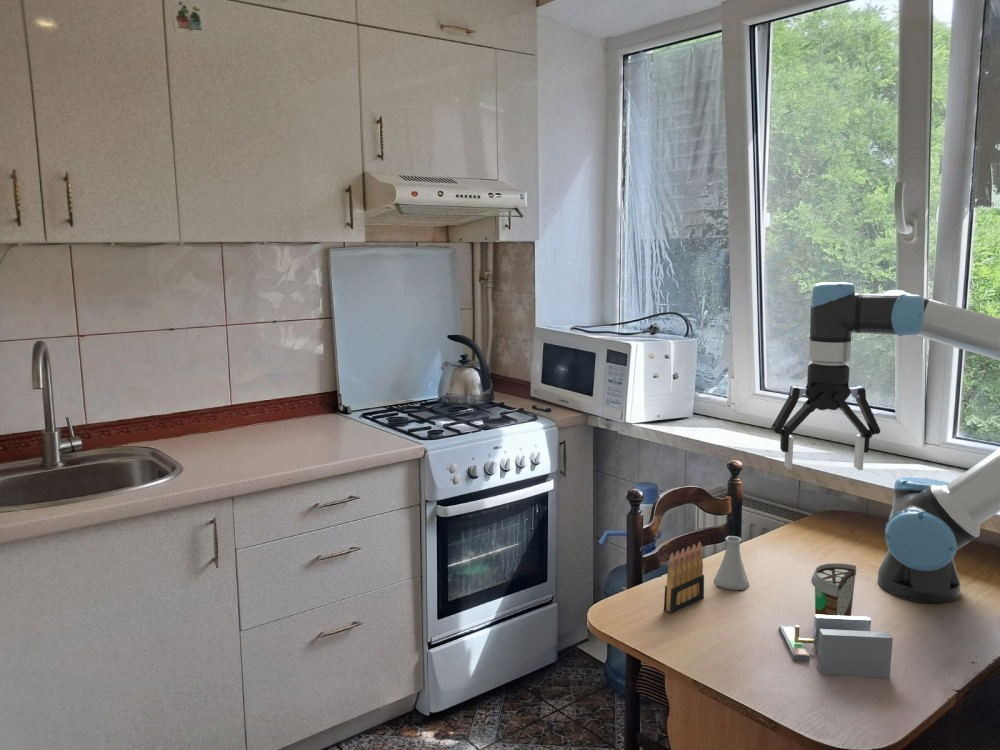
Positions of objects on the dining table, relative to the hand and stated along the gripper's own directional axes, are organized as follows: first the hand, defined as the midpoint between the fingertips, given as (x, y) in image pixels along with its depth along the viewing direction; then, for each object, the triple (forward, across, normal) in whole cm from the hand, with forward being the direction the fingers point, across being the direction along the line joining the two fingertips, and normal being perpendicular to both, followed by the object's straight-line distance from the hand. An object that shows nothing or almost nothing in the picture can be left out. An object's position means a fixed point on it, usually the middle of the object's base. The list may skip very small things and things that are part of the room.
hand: (823, 468), depth 159 cm
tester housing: (+26, +5, +24) cm, 36 cm away
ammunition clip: (+26, +28, +7) cm, 39 cm away
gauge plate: (+26, +5, +24) cm, 36 cm away
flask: (+27, +16, -4) cm, 31 cm away
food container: (+27, +2, +12) cm, 29 cm away
